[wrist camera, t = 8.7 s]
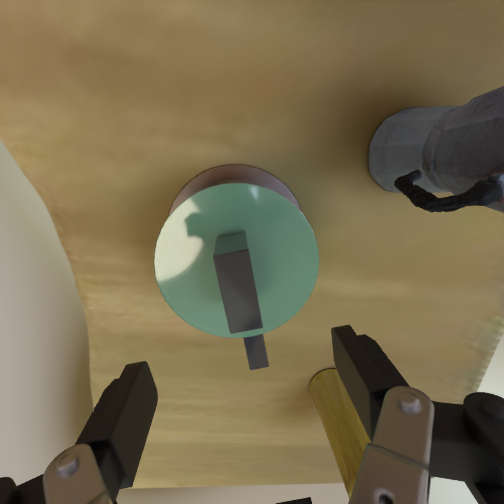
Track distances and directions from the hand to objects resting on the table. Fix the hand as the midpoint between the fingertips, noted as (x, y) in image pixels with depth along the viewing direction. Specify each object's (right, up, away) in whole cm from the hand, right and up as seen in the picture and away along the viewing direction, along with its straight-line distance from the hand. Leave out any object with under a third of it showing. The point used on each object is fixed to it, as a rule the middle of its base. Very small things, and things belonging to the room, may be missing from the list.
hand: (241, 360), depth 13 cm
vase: (+12, -14, +30) cm, 35 cm away
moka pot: (+17, +15, +20) cm, 31 cm away
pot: (-1, +4, +22) cm, 22 cm away
